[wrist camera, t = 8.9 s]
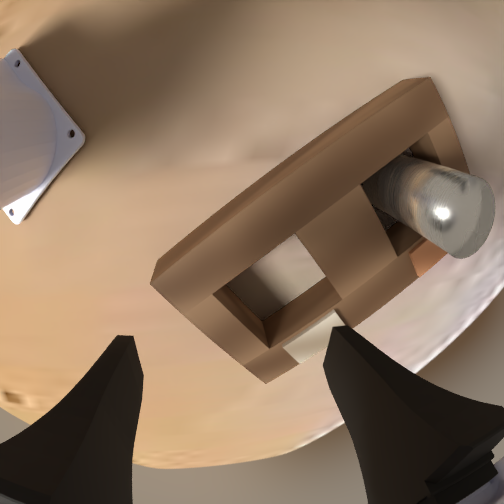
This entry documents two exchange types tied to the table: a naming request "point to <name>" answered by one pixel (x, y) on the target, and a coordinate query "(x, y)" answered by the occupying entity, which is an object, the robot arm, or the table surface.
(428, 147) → the socket board
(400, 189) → the steel peg
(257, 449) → the table surface
